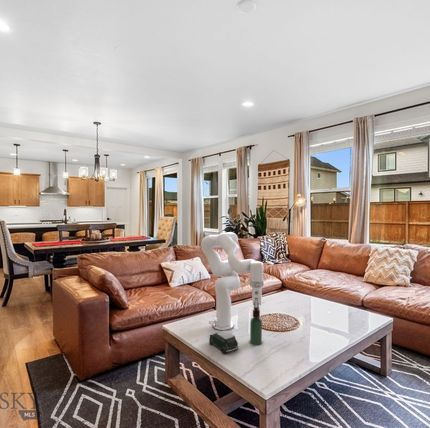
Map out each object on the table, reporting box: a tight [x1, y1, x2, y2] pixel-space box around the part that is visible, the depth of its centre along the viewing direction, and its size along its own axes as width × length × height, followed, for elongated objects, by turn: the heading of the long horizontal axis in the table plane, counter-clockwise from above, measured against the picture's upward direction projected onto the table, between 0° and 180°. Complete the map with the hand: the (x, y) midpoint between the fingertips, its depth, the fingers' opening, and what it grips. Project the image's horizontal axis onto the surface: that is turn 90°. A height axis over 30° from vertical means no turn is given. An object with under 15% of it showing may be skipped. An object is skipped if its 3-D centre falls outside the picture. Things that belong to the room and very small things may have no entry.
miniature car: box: [208, 330, 240, 354], centre depth 163 cm, size 9×18×8 cm, turn 39°
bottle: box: [249, 316, 263, 346], centre depth 168 cm, size 6×6×18 cm
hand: (256, 315), depth 168 cm, fingers closed on cap, 4 cm apart
